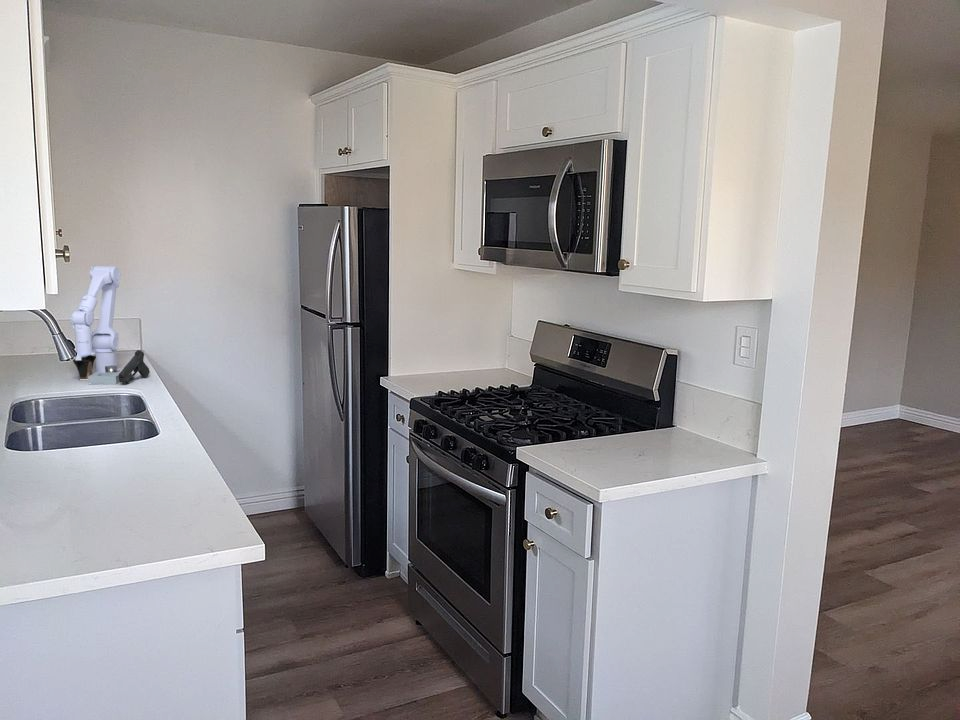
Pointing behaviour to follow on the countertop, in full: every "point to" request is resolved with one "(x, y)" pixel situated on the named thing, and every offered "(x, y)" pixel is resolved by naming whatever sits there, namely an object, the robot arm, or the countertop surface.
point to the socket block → (104, 378)
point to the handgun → (134, 368)
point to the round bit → (111, 368)
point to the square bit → (89, 371)
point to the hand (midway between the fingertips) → (85, 375)
